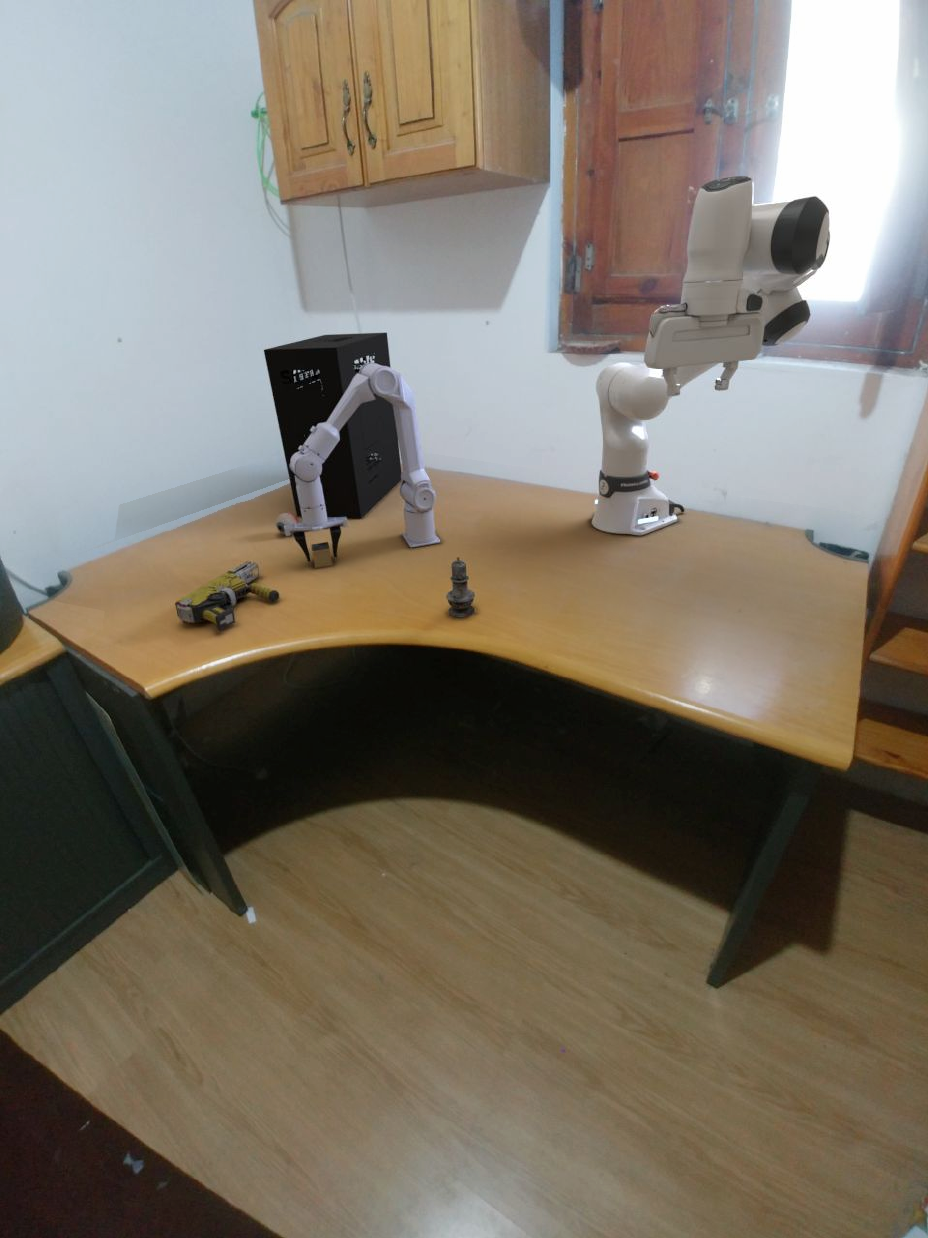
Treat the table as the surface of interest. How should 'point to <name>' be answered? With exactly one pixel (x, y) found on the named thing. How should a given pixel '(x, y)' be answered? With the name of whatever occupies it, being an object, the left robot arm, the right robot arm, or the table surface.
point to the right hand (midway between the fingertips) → (697, 392)
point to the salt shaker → (460, 591)
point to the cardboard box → (369, 430)
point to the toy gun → (222, 597)
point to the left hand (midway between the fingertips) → (322, 558)
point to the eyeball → (285, 521)
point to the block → (321, 555)
